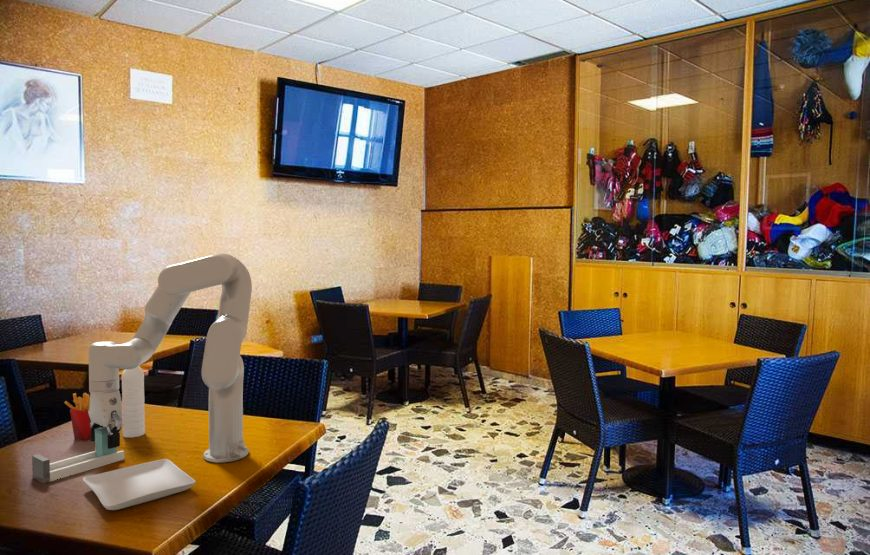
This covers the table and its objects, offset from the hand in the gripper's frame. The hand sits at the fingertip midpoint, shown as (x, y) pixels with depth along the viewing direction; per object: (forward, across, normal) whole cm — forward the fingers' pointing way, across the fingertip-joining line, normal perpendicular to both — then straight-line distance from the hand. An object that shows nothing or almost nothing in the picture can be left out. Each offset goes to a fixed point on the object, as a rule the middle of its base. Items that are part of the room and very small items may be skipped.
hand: (105, 443), depth 169 cm
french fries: (+5, +23, -5) cm, 24 cm away
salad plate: (+5, -27, +5) cm, 28 cm away
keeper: (+4, 0, 0) cm, 4 cm away
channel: (+5, 0, +7) cm, 9 cm away
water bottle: (+5, +16, -17) cm, 24 cm away
